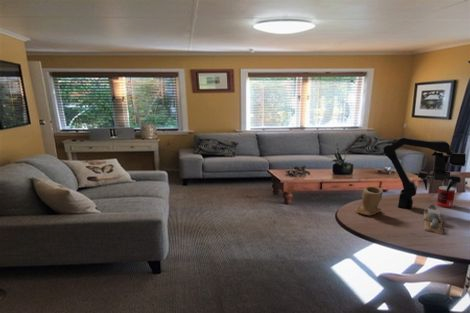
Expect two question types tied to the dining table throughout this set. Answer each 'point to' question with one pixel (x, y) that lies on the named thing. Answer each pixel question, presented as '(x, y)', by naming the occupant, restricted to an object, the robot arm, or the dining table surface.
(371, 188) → the stone cup
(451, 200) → the canned food
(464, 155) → the robot arm
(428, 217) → the block
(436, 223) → the shaft bench
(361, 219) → the dining table surface
